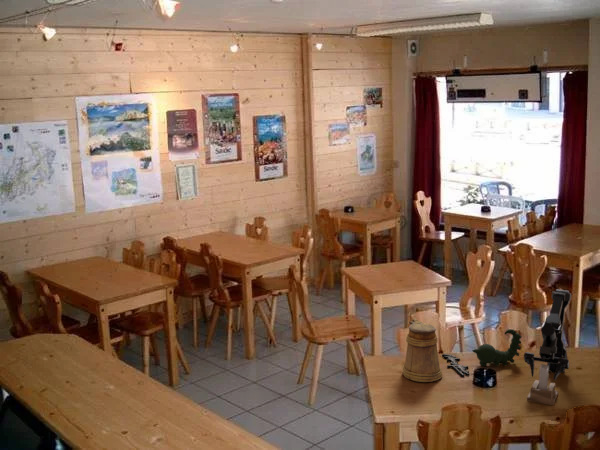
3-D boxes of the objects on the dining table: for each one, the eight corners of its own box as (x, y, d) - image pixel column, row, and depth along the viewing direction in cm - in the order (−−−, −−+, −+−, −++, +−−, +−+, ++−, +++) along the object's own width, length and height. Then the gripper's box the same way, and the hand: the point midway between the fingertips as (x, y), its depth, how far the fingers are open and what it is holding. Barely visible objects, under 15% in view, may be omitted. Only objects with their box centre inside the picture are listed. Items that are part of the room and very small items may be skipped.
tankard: (412, 385, 331) (413, 334, 326) (393, 366, 354) (393, 318, 349) (448, 380, 336) (449, 330, 331) (426, 362, 358) (427, 314, 353)
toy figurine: (511, 362, 361) (465, 363, 355) (516, 326, 358) (470, 326, 352) (521, 369, 352) (474, 370, 346) (526, 332, 349) (479, 332, 343)
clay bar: (540, 391, 319) (541, 364, 317) (547, 392, 318) (548, 365, 315) (538, 395, 315) (539, 367, 313) (545, 396, 314) (546, 369, 311)
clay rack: (532, 389, 325) (533, 378, 324) (557, 394, 319) (558, 383, 318) (527, 400, 314) (527, 388, 313) (553, 405, 309) (553, 393, 308)
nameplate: (435, 354, 365) (453, 352, 367) (435, 357, 365) (453, 355, 367) (457, 375, 339) (477, 373, 341) (457, 378, 339) (477, 376, 341)
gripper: (525, 334, 319) (519, 367, 312) (569, 341, 311) (564, 374, 303) (528, 345, 328) (522, 377, 320) (571, 352, 319) (566, 385, 312)
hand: (543, 378), depth 314 cm, fingers open, 9 cm apart
